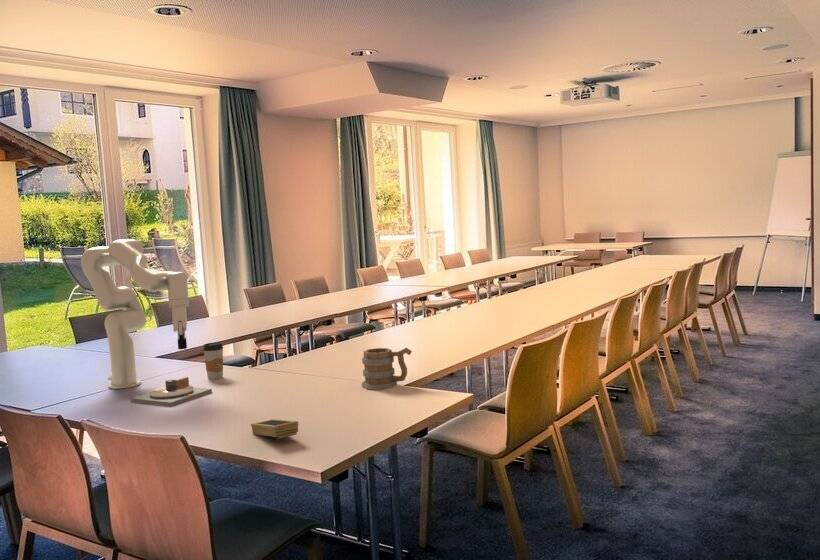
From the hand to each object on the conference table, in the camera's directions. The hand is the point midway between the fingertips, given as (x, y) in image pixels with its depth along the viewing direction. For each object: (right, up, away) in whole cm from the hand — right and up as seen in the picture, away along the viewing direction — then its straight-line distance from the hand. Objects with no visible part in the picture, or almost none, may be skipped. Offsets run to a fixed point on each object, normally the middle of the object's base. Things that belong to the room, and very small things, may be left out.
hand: (182, 348), depth 277 cm
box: (+49, -21, -66) cm, 85 cm away
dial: (-1, -16, -9) cm, 19 cm away
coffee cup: (+7, -15, +21) cm, 27 cm away
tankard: (+83, -14, -10) cm, 85 cm away
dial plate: (-1, -18, -10) cm, 20 cm away
